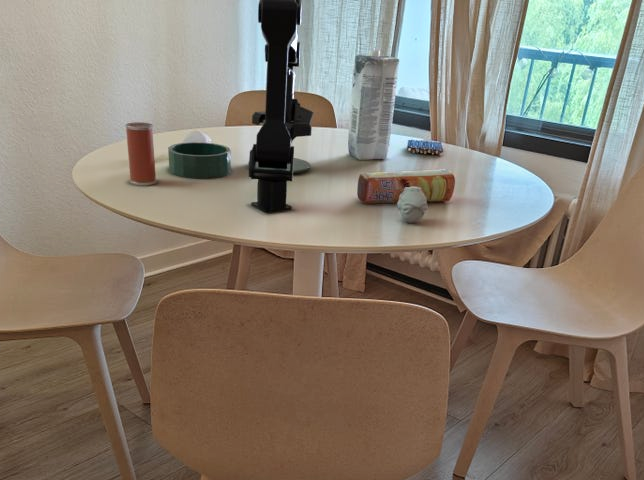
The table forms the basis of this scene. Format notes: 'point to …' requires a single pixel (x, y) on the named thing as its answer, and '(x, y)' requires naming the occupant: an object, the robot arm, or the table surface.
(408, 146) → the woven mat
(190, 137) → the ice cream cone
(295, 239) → the table surface
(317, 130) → the table surface
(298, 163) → the pot lid
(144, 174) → the tin can
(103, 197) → the table surface
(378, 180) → the snack package
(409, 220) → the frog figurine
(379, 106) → the juice carton
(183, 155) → the pot
